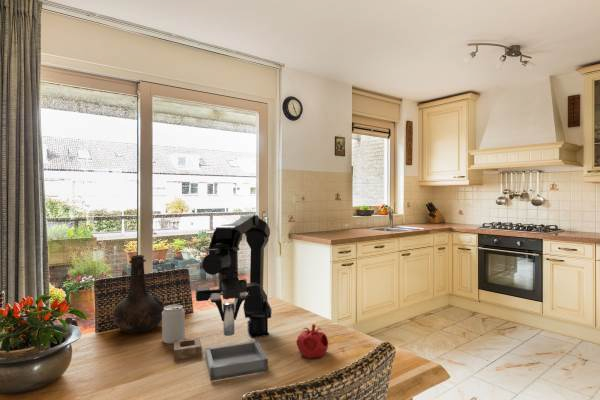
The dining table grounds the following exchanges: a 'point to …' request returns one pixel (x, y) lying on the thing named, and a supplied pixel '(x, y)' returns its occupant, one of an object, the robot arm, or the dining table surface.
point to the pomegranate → (312, 343)
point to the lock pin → (228, 318)
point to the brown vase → (138, 303)
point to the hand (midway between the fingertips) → (228, 320)
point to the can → (173, 323)
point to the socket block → (187, 348)
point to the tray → (235, 360)
